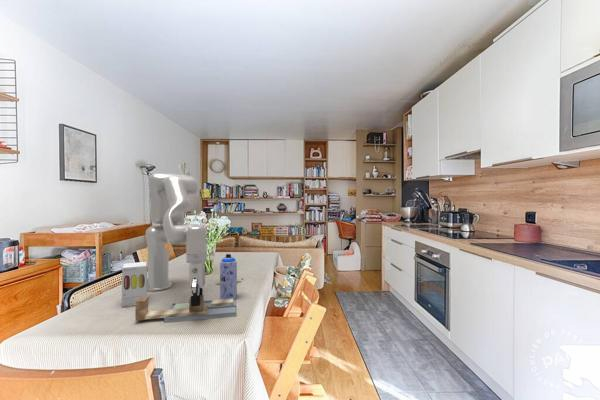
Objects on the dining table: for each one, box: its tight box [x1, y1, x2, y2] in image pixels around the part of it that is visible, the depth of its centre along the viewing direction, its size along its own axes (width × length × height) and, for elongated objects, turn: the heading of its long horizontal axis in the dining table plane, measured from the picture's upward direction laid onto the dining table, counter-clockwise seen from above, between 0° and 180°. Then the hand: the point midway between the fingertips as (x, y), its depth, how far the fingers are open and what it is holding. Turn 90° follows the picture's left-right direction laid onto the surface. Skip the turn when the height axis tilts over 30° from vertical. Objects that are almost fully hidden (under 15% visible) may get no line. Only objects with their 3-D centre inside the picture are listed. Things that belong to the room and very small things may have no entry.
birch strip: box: [134, 295, 208, 322], centre depth 112 cm, size 25×5×7 cm, turn 103°
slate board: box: [163, 298, 237, 324], centre depth 118 cm, size 26×16×1 cm, turn 103°
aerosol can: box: [219, 253, 238, 300], centre depth 134 cm, size 8×8×20 cm
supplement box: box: [121, 261, 148, 308], centre depth 127 cm, size 10×9×17 cm
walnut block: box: [188, 294, 205, 313], centre depth 114 cm, size 5×5×5 cm
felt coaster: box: [173, 302, 189, 310], centre depth 120 cm, size 6×6×1 cm
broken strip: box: [211, 299, 233, 307], centre depth 123 cm, size 16×5×1 cm, turn 103°
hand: (197, 301), depth 113 cm, fingers open, 9 cm apart
